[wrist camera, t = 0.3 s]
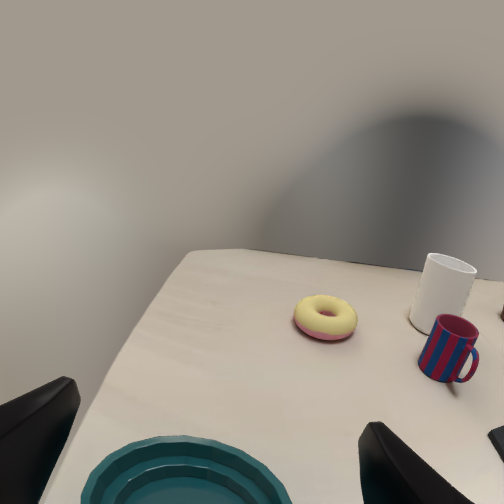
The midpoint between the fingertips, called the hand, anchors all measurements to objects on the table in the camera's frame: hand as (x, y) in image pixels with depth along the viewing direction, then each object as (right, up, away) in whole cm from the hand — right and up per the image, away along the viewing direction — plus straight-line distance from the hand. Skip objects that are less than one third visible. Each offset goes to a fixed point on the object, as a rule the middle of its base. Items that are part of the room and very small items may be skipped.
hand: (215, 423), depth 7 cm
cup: (+26, -12, +24) cm, 37 cm away
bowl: (-3, -14, +5) cm, 15 cm away
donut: (+11, -6, +35) cm, 37 cm away
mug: (+32, -8, +38) cm, 51 cm away
